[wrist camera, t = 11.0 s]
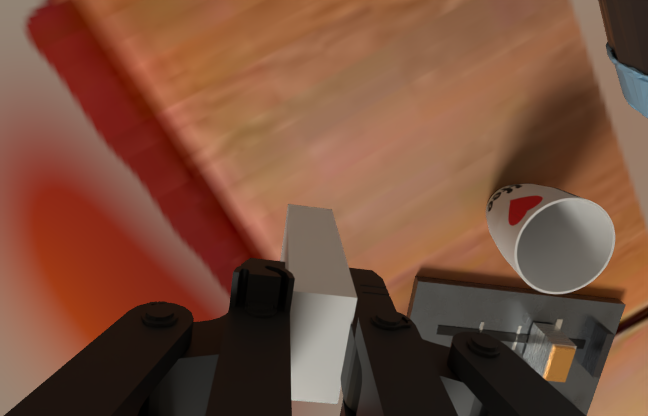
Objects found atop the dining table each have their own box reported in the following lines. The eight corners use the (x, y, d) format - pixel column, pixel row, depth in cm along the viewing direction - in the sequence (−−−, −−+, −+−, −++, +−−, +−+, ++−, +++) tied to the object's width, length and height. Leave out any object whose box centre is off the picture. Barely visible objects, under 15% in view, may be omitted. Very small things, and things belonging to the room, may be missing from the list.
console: (415, 276, 51) (423, 290, 47) (618, 299, 53) (638, 314, 50) (379, 440, 56) (384, 462, 53) (564, 454, 58) (579, 476, 55)
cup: (545, 159, 48) (609, 185, 38) (556, 236, 50) (620, 278, 41) (463, 183, 48) (506, 214, 38) (478, 258, 50) (523, 306, 41)
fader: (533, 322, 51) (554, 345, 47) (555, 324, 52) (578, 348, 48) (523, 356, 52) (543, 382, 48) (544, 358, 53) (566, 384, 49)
